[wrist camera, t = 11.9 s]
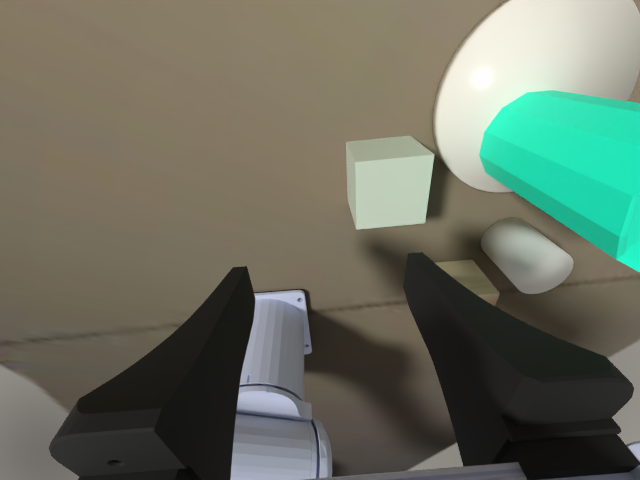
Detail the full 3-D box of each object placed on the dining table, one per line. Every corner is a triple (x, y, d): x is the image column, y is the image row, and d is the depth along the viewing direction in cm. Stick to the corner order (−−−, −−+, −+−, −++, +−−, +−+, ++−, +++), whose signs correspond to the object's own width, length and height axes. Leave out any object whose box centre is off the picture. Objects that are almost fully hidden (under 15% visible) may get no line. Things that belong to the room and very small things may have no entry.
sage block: (404, 194, 22) (425, 223, 19) (347, 200, 22) (356, 229, 19) (410, 135, 20) (434, 154, 16) (345, 141, 20) (355, 162, 16)
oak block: (462, 294, 29) (485, 330, 25) (417, 297, 29) (434, 334, 25) (472, 258, 26) (499, 293, 23) (423, 263, 26) (443, 298, 23)
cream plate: (573, 180, 22) (586, 186, 21) (421, 192, 22) (426, 198, 21) (667, -28, 16) (692, -33, 15) (450, -11, 16) (460, -16, 15)
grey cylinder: (519, 253, 26) (560, 291, 22) (475, 257, 26) (508, 296, 22) (534, 215, 24) (583, 249, 20) (487, 219, 24) (526, 254, 20)
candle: (547, 65, 17) (910, 85, 7) (587, 133, 19) (900, 223, 9) (461, 145, 19) (635, 246, 9) (506, 197, 21) (684, 323, 11)
